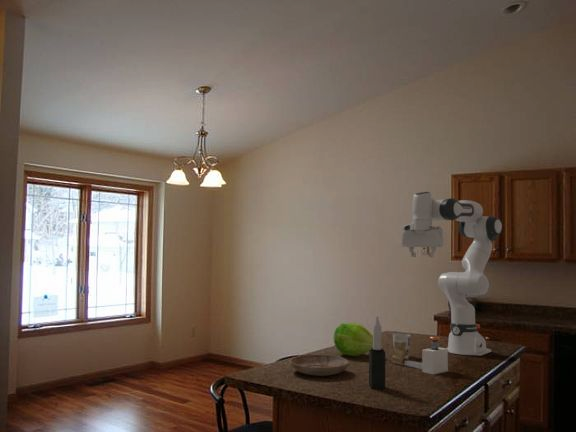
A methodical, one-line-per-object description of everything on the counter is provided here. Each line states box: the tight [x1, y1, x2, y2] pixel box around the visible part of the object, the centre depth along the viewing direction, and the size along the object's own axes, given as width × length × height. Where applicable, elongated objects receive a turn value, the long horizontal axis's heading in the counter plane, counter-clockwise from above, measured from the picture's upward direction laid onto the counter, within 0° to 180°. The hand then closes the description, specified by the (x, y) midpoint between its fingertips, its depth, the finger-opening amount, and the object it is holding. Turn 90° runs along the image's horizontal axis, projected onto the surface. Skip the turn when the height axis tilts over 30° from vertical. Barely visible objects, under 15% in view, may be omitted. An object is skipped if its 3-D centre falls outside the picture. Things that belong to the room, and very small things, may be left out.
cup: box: [392, 333, 411, 357], centre depth 240 cm, size 8×8×10 cm
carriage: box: [391, 341, 409, 366], centre depth 224 cm, size 5×5×9 cm
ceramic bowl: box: [289, 354, 350, 377], centre depth 206 cm, size 23×24×5 cm
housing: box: [421, 346, 449, 375], centre depth 210 cm, size 10×5×9 cm, turn 128°
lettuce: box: [333, 322, 373, 357], centre depth 241 cm, size 17×20×15 cm
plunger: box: [429, 336, 441, 350], centre depth 211 cm, size 4×4×6 cm
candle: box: [368, 316, 386, 390], centre depth 185 cm, size 5×5×25 cm
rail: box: [395, 359, 422, 370], centre depth 219 cm, size 2×18×2 cm, turn 38°
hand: (422, 257), depth 235 cm, fingers open, 8 cm apart
